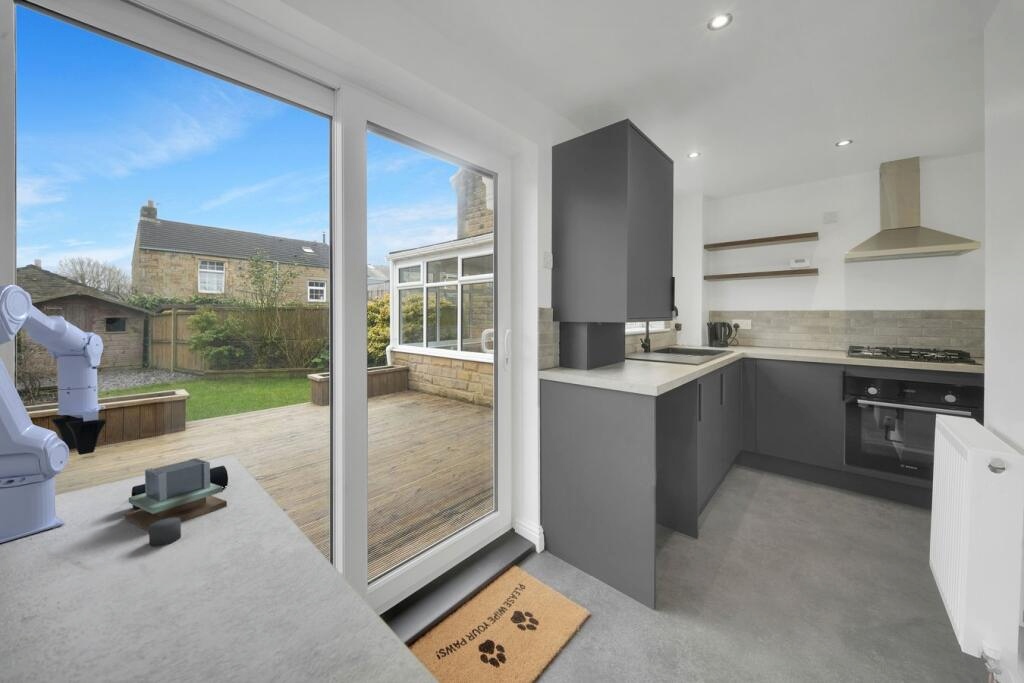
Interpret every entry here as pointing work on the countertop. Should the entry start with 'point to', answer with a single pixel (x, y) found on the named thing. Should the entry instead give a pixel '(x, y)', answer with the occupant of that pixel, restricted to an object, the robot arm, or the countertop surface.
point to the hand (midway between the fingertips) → (79, 451)
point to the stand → (174, 506)
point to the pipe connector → (216, 477)
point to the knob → (164, 532)
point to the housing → (177, 479)
